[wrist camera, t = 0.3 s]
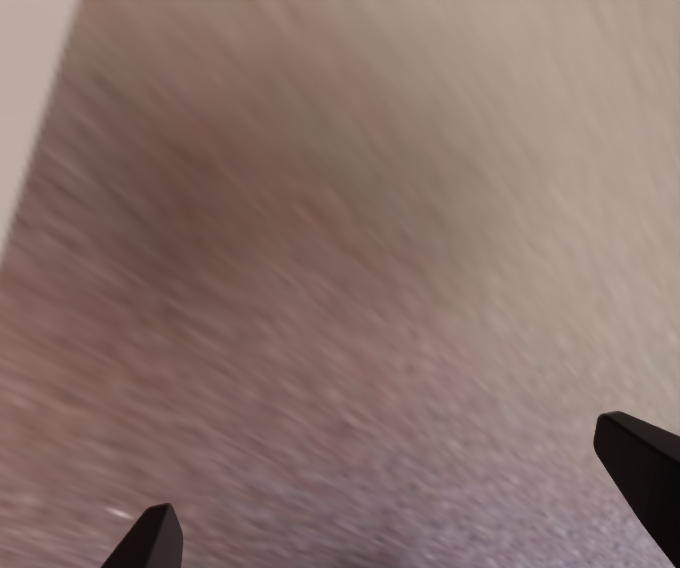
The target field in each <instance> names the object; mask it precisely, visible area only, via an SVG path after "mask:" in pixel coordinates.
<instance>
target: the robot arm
mask: <svg viewBox="0 0 680 568" xmlns="http://www.w3.org/2000/svg"><path fill="white" fill-rule="evenodd" d="M593 445H594V449H595V452H596V454H597V456H598V457H599V459H600V461H601V462H602V464H603V465H604V467H605V468H606V470H607V471H608V473H609V474H610V476H611V478H612V479H613V481H614V482H615V484H616V485H617V487H618V488H619V490H620V491H621V493H622V494H623V496H624V498H625V499H626V501H627V502H628V504H629V505H630V507H631V508H632V510H633V511H634V513H635V514H636V516H637V517H638V519H639V520H640V522H641V523H642V525H643V526H644V527H645V529H646V530H647V531H648V533H649V534H650V535H651V537H652V538H653V539H654V540H655V542H656V543H657V544H658V546H659V547H660V548H661V549H662V551H663V552H664V553H665V555H666V556H667V557H668V559H669V560H670V561H671V562H672V564H673V565H674V566H675V568H680V436H677V435H675V434H673V433H670V432H668V431H666V430H663V429H661V428H659V427H656V426H654V425H652V424H649V423H647V422H645V421H642V420H640V419H638V418H635V417H633V416H630V415H628V414H626V413H623V412H620V411H613V412H609V413H604V414H601V415H600V416H599V417H598V419H597V424H596V430H595V435H594V441H593ZM182 550H183V534H182V529H181V527H180V524H179V521H178V519H177V516H176V514H175V511H174V508H173V506H172V505H171V504H170V503H164V504H159V505H155V506H151V507H149V508H147V509H146V510H145V511H144V513H143V514H142V515H141V516H140V518H139V519H138V520H137V522H136V523H135V524H134V525H133V527H132V528H131V529H130V531H129V532H128V533H127V534H126V536H125V537H124V538H123V539H122V541H121V542H120V543H119V545H118V546H117V547H116V548H115V550H114V551H113V552H112V554H111V555H110V556H109V557H108V559H107V560H106V561H105V563H104V564H103V565H102V566H101V568H181V562H182Z"/></svg>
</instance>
